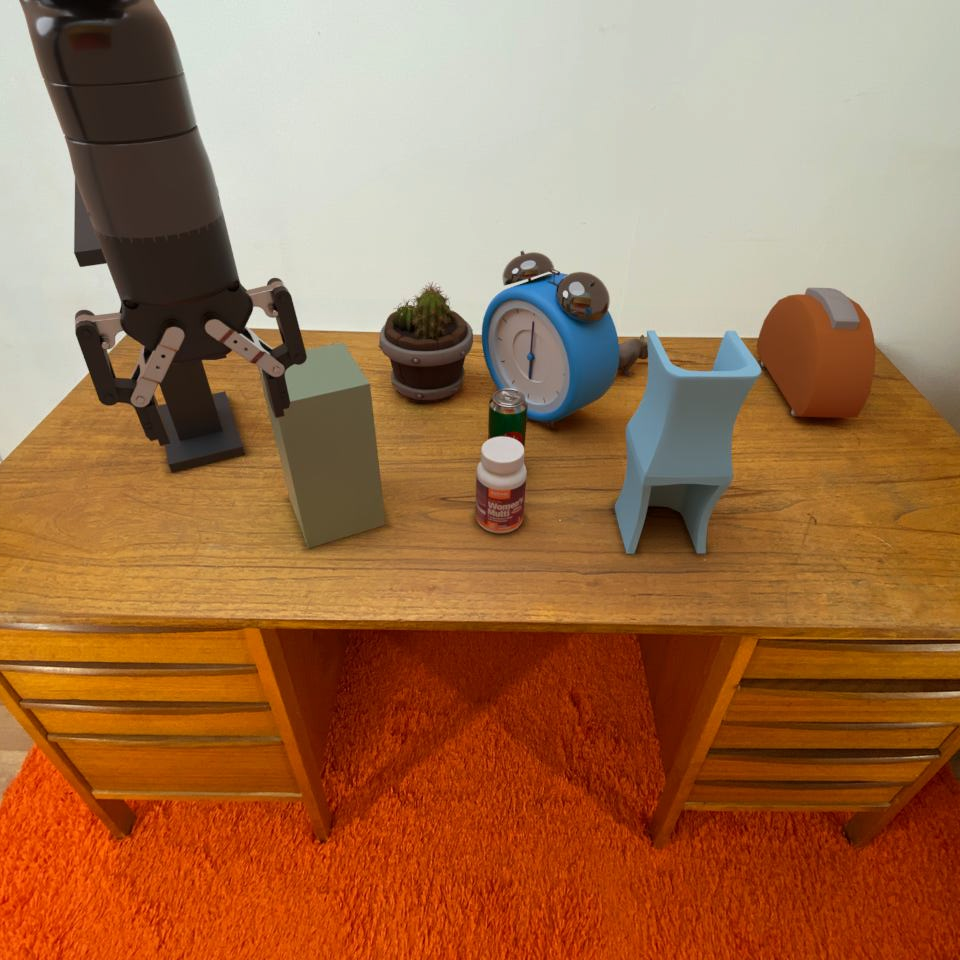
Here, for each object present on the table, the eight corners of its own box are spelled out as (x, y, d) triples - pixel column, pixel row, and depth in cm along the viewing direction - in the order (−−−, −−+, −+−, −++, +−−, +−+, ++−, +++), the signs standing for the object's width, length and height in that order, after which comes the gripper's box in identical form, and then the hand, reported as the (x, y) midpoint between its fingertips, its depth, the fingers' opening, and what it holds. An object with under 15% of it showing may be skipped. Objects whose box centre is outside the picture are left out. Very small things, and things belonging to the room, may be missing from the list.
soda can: (496, 454, 93) (499, 383, 85) (528, 463, 91) (534, 392, 83) (481, 473, 89) (482, 401, 82) (514, 484, 88) (518, 412, 80)
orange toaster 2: (854, 431, 98) (902, 332, 88) (796, 429, 99) (837, 330, 88) (799, 355, 116) (834, 265, 106) (750, 354, 116) (779, 264, 106)
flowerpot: (377, 371, 110) (365, 257, 97) (463, 361, 113) (463, 249, 100) (389, 418, 99) (377, 297, 86) (484, 406, 102) (486, 286, 89)
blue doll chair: (684, 499, 86) (735, 329, 70) (706, 553, 78) (768, 377, 62) (611, 500, 86) (646, 329, 69) (626, 554, 78) (668, 376, 62)
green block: (386, 524, 81) (370, 383, 68) (308, 548, 78) (274, 404, 64) (362, 478, 88) (343, 341, 75) (289, 499, 85) (255, 359, 71)
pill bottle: (487, 540, 79) (489, 470, 72) (468, 509, 84) (468, 440, 76) (531, 527, 81) (537, 458, 74) (511, 497, 86) (515, 429, 78)
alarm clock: (478, 391, 106) (480, 250, 91) (520, 371, 111) (529, 235, 95) (568, 448, 94) (588, 298, 79) (611, 424, 99) (637, 278, 84)
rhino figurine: (660, 365, 113) (667, 334, 109) (601, 387, 107) (606, 356, 103) (643, 355, 115) (649, 325, 112) (585, 377, 110) (589, 345, 106)
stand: (257, 492, 86) (185, 237, 64) (178, 513, 82) (73, 252, 60) (219, 372, 109) (156, 155, 87) (156, 385, 106) (74, 162, 84)
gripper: (23, 249, 34) (127, 479, 45) (287, 213, 39) (325, 428, 50) (28, 208, 39) (121, 423, 50) (261, 181, 44) (301, 381, 55)
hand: (223, 425), depth 50 cm, fingers open, 8 cm apart
